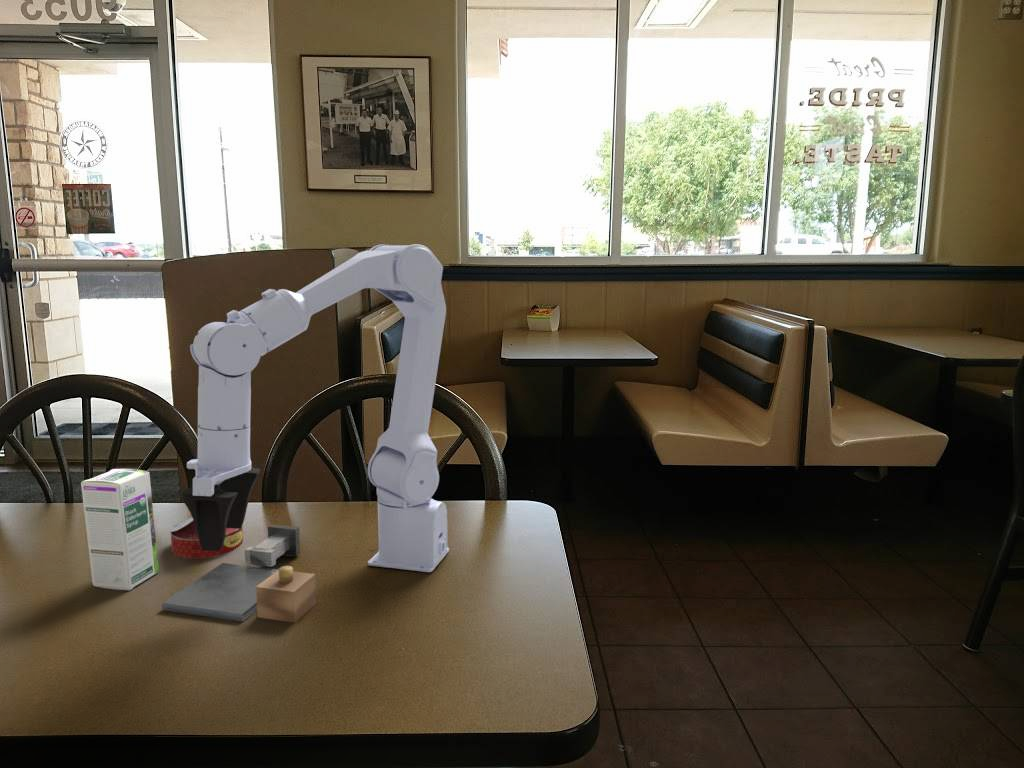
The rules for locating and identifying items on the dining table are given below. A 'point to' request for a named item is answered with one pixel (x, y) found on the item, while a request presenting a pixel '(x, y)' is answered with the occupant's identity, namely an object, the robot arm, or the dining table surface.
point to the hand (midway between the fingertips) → (222, 538)
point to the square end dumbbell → (274, 546)
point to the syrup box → (120, 528)
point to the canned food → (189, 545)
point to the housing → (286, 595)
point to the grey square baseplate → (221, 593)
